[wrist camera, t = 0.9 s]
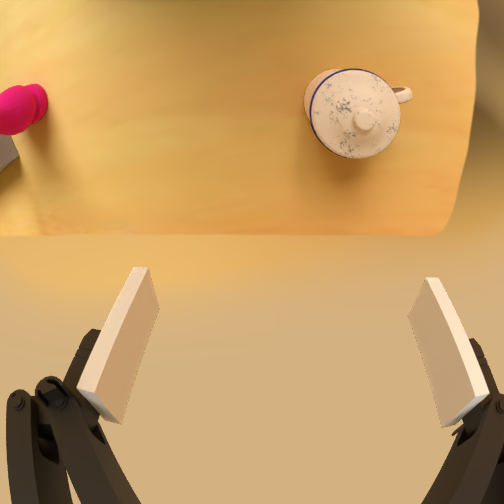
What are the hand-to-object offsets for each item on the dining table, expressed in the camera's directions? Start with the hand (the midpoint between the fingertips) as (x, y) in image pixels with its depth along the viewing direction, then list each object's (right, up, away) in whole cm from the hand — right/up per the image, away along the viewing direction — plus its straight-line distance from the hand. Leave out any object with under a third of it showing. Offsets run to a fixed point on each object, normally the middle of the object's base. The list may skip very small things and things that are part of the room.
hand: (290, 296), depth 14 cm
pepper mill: (-34, +24, +19) cm, 46 cm away
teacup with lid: (+10, +20, +18) cm, 29 cm away
